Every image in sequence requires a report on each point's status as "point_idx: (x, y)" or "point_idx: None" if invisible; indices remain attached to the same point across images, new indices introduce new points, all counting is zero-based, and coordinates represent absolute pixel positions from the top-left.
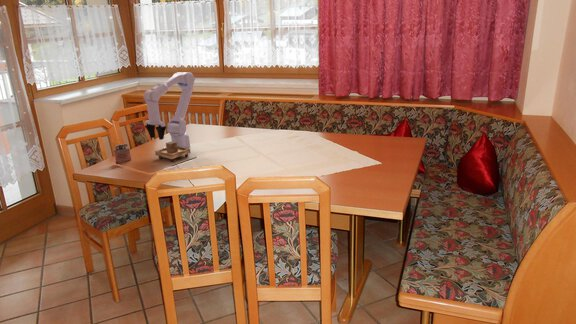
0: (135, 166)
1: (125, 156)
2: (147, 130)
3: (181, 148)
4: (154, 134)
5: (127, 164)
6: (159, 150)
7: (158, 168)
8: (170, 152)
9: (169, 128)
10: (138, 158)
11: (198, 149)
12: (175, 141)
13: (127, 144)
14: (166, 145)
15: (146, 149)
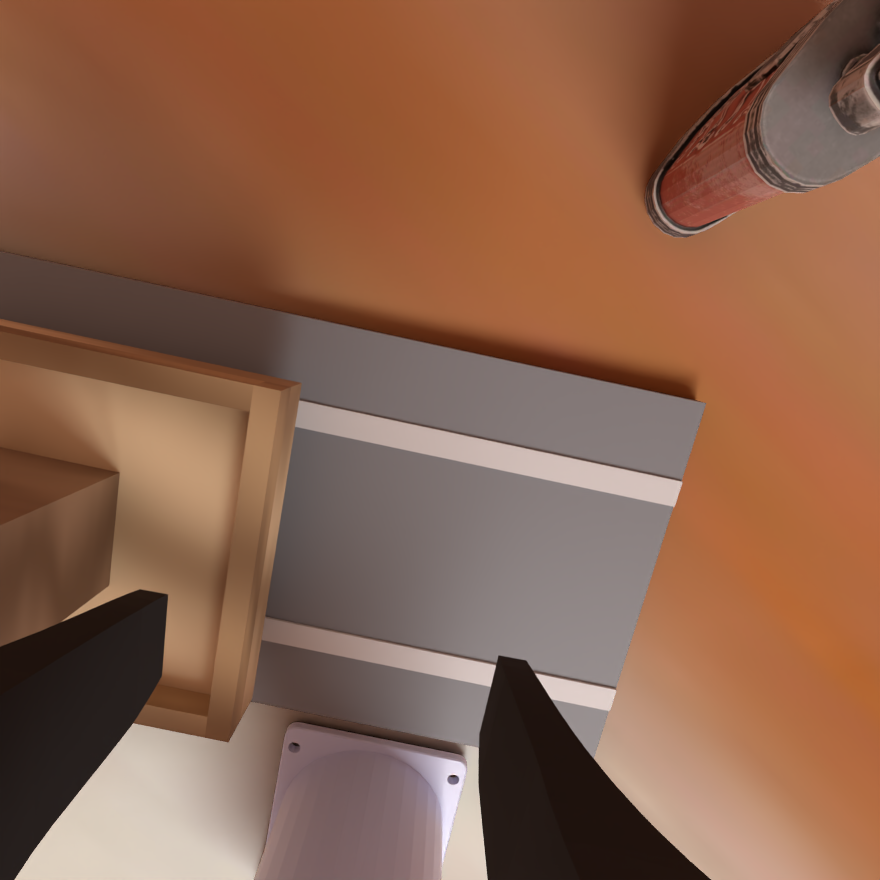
0: (421, 45)
1: (744, 95)
2: (648, 821)
3: None
4: (482, 803)
5: (622, 81)
6: (245, 458)
7: (14, 92)
8: (16, 454)
9: None
10: (660, 372)
11: (148, 871)
12: (300, 875)
13: (864, 90)
14: (12, 507)
15: (834, 721)
